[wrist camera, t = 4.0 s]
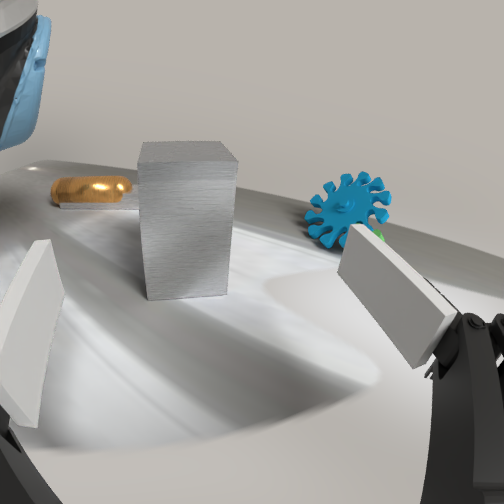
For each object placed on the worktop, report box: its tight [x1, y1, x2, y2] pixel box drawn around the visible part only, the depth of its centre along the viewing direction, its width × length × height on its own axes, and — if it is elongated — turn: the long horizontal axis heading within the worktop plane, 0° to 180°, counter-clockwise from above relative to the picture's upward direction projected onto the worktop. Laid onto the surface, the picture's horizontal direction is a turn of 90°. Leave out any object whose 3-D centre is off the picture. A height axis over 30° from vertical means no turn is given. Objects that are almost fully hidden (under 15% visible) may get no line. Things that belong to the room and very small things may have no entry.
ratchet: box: [51, 176, 139, 209], centre depth 34 cm, size 22×7×5 cm, turn 96°
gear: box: [305, 172, 391, 249], centre depth 32 cm, size 11×6×10 cm
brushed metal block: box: [137, 141, 238, 300], centre depth 22 cm, size 6×6×10 cm
